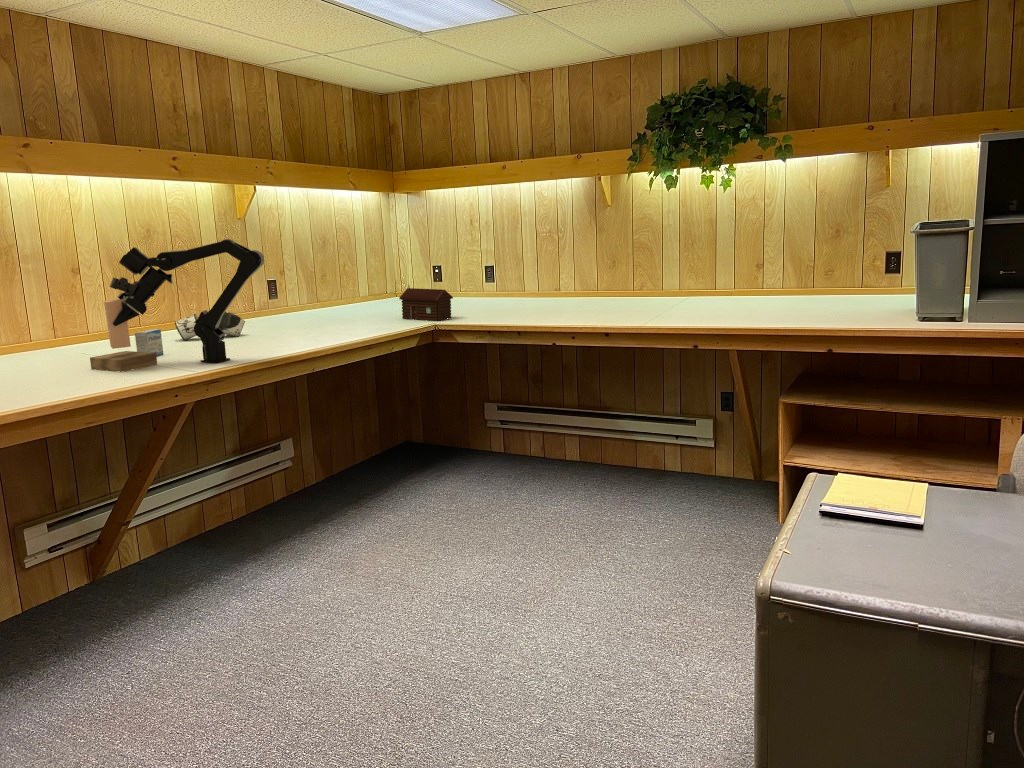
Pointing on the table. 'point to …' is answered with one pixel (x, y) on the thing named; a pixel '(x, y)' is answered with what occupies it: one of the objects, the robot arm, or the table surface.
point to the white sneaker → (228, 325)
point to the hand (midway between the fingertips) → (112, 324)
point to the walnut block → (123, 361)
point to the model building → (426, 304)
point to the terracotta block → (119, 332)
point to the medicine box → (149, 341)
